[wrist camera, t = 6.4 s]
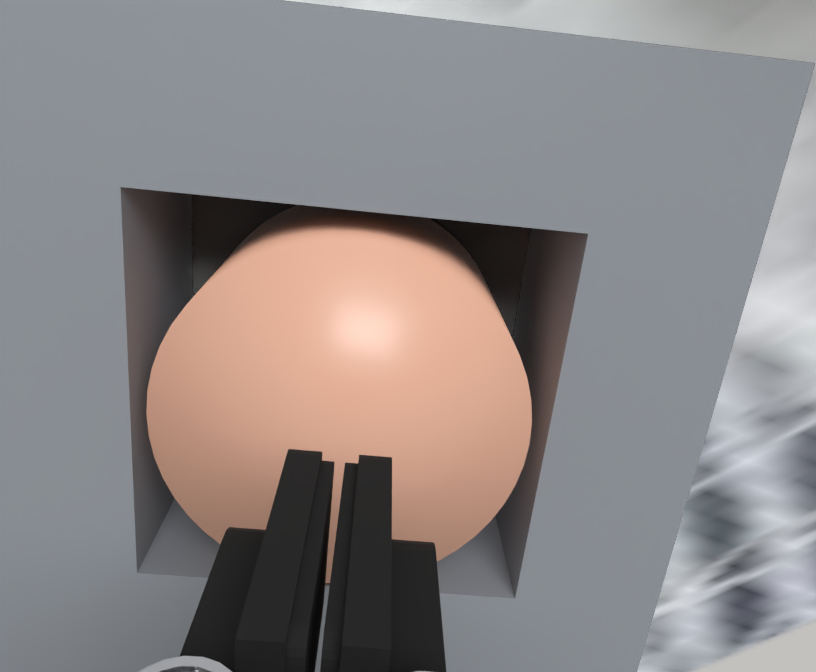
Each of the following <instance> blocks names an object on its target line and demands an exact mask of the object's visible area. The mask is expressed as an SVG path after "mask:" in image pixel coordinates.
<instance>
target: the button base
mask: <svg viewBox="0 0 816 672" xmlns="http://www.w3.org/2000/svg"><path fill="white" fill-rule="evenodd" d="M814 66H815V63H811V62H803V61H794V60H786V59H777V58H769V57H760V56H752V55H743V54H735V53H726V52H718V51H709V50H701V49H692V48H684V47H675V46H667V45H658V44H650V43H641V42H633V41H624V40H616V39H607V38H599V37H590V36H582V35H573V34H565V33H556V32H548V31H539V30H531V29H522V28H514V27H505V26H497V25H488V24H480V23H471V22H463V21H454V20H446V19H437V18H429V17H420V16H412V15H403V14H395V13H386V12H378V11H369V10H361V9H352V8H344V7H335V6H327V5H318V4H310V3H301V2H293V1H284V0H0V672H140V671H141V670H142V669H144V668H145V667H148V666H150V665H152V664H155V663H157V662H159V661H162V660H164V659H169V658H175V657H179V656H180V654H181V651H182V648H183V645H184V643H185V640H186V637H187V634H188V632H189V629H190V626H191V623H192V621H193V618H194V615H195V613H196V610H197V607H198V604H199V602H200V599H201V596H202V593H203V591H204V588H205V585H206V583H207V580H208V577H209V574H210V572H211V569H212V566H213V563H214V561H215V558H216V555H217V553H218V550H219V547H220V544H219V543H218V542H216V541H215V540H214V539H213V538H211V537H210V536H209V535H208V534H206V533H205V532H204V531H203V530H202V529H201V528H200V527H199V526H198V525H197V524H196V523H195V522H194V521H193V520H192V519H191V518H190V517H189V516H188V515H187V514H186V512H185V511H184V510H183V508H182V507H181V506H180V505H179V503H178V502H177V501H176V499H175V498H174V496H173V495H172V493H171V491H170V490H169V488H168V486H167V484H166V483H165V481H164V479H163V477H162V475H161V472H160V470H159V468H158V465H157V463H156V460H155V458H154V454H153V450H152V447H151V443H150V439H149V433H148V424H147V415H146V410H147V390H148V385H149V379H150V374H151V369H152V366H153V363H154V360H155V358H156V355H157V352H158V349H159V346H160V344H161V343H162V341H163V339H164V337H165V335H166V333H167V332H168V330H169V328H170V326H171V324H172V323H173V322H174V320H175V319H176V318H177V316H178V315H179V314H180V312H181V311H182V310H183V308H184V307H185V306H186V305H187V303H188V302H189V301H190V300H191V299H192V298H193V280H192V194H195V195H205V196H215V197H225V198H235V199H245V200H255V201H265V202H275V203H285V204H295V205H305V206H315V207H325V208H335V209H345V210H355V211H366V212H376V213H386V214H396V215H406V216H416V217H426V218H436V219H446V220H456V221H466V222H476V223H486V224H496V225H506V226H516V227H526V228H531V232H530V238H529V244H528V250H527V256H526V262H525V268H524V273H523V279H522V285H521V291H520V297H519V303H518V309H517V315H516V320H515V326H514V332H513V338H512V339H513V342H514V344H515V346H516V348H517V350H518V353H519V355H520V357H521V360H522V363H523V366H524V369H525V372H526V375H527V379H528V384H529V390H530V395H531V405H532V427H531V436H530V444H529V448H528V452H527V456H526V459H525V463H524V466H523V469H522V471H521V473H520V476H519V478H518V481H517V483H516V485H515V487H514V489H513V490H512V492H511V494H510V495H509V497H508V499H507V500H506V502H505V504H504V505H503V506H502V508H501V509H500V510H499V511H498V513H497V514H496V515H495V516H494V518H493V519H492V520H491V521H490V522H489V523H488V524H487V525H486V526H485V527H484V528H483V529H482V530H481V531H480V532H479V533H478V534H477V535H476V536H475V537H474V538H472V539H471V540H470V541H468V542H467V543H466V544H464V545H463V546H462V547H460V548H459V549H458V550H456V551H455V552H453V553H451V554H449V555H448V556H446V557H444V558H443V559H441V560H439V561H437V570H438V581H439V593H440V604H441V615H442V627H443V638H444V650H445V661H446V672H637V670H638V666H639V663H640V659H641V656H642V653H643V649H644V646H645V642H646V639H647V636H648V632H649V629H650V625H651V622H652V618H653V615H654V612H655V608H656V605H657V601H658V598H659V595H660V591H661V588H662V584H663V581H664V578H665V574H666V571H667V567H668V564H669V560H670V557H671V554H672V550H673V547H674V543H675V540H676V537H677V533H678V530H679V526H680V523H681V520H682V516H683V513H684V509H685V506H686V503H687V499H688V496H689V492H690V489H691V485H692V482H693V479H694V475H695V472H696V468H697V465H698V462H699V458H700V455H701V451H702V448H703V445H704V441H705V438H706V434H707V431H708V427H709V424H710V421H711V417H712V414H713V410H714V407H715V404H716V400H717V397H718V393H719V390H720V387H721V383H722V380H723V376H724V373H725V370H726V366H727V363H728V359H729V356H730V352H731V349H732V346H733V342H734V339H735V335H736V332H737V329H738V325H739V322H740V318H741V315H742V312H743V308H744V305H745V301H746V298H747V294H748V291H749V288H750V284H751V281H752V277H753V274H754V271H755V267H756V264H757V260H758V257H759V254H760V250H761V247H762V243H763V240H764V237H765V233H766V230H767V226H768V223H769V219H770V216H771V213H772V209H773V206H774V202H775V199H776V196H777V192H778V189H779V185H780V182H781V179H782V175H783V172H784V168H785V165H786V161H787V158H788V155H789V151H790V148H791V144H792V141H793V138H794V134H795V131H796V127H797V124H798V121H799V117H800V114H801V110H802V107H803V103H804V100H805V97H806V93H807V90H808V86H809V83H810V80H811V76H812V73H813V69H814ZM329 587H330V583H325V594H324V604H323V614H322V622H321V629H320V637H319V644H318V652H317V660H316V667H315V672H320V667H321V655H322V645H323V636H324V627H325V619H326V611H327V603H328V595H329Z"/></svg>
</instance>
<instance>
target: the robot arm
mask: <svg viewBox="0 0 816 672" xmlns="http://www.w3.org/2000/svg"><path fill="white" fill-rule="evenodd" d="M333 477H334V462H333V461H322V452H321V451H309V450H296V449H288V452H287V455H286V459H285V462H284V466H283V469H282V473H281V477H280V480H279V484H278V487H277V491H276V494H275V498H274V502H273V505H272V509H271V512H270V516H269V519H268V523H267V527H266V530H261V529H248V528H235V527H229V528H228V529H227V530H226V532H225V534H224V536H223V539H222V542H221V544H220V547H219V550H218V553H217V555H216V558H215V561H214V563H213V566H212V569H211V572H210V574H209V577H208V580H207V583H206V585H205V588H204V591H203V593H202V596H201V599H200V602H199V604H198V607H197V610H196V613H195V615H194V618H193V621H192V623H191V626H190V629H189V632H188V634H187V637H186V640H185V643H184V645H183V648H182V651H181V654H180V656H179V657H175V658H169V659H164V660H162V661H159V662H157V663H155V664H152V665H150V666H148V667H145V668H144V669H142V670H141V671H140V672H315V667H316V660H317V652H318V644H319V637H320V629H321V622H322V614H323V604H324V594H325V581H326V568H327V555H328V542H329V529H330V516H331V503H332V490H333ZM320 672H446V661H445V650H444V638H443V627H442V615H441V604H440V593H439V581H438V570H437V558H436V549H435V544H434V542H422V541H408V540H395V539H392V457H382V456H370V455H359V461H358V463H346V462H345V467H344V475H343V483H342V491H341V499H340V507H339V515H338V523H337V531H336V539H335V547H334V555H333V563H332V571H331V579H330V587H329V595H328V603H327V611H326V619H325V627H324V636H323V645H322V655H321V667H320Z"/></svg>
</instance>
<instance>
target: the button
mask: <svg viewBox="0 0 816 672" xmlns="http://www.w3.org/2000/svg"><path fill="white" fill-rule="evenodd" d="M146 415H147V424H148V433H149V439H150V443H151V447H152V450H153V454H154V458H155V460H156V463H157V465H158V468H159V470H160V472H161V475H162V477H163V479H164V481H165V483H166V484H167V486H168V488H169V490H170V491H171V493H172V495H173V496H174V498H175V499H176V501H177V502H178V503H179V505H180V506H181V507H182V508H183V510H184V511H185V512H186V514H187V515H188V516H189V517H190V518H191V519H192V520H193V521H194V522H195V523H196V524H197V525H198V526H199V527H200V528H201V529H202V530H203V531H204V532H205V533H206V534H208V535H209V536H210V537H211V538H213V539H214V540H215V541H216V542H218V543H219V544H221V542H222V539H223V536H224V534H225V532H226V530H227V529H228V528H229V527H235V528H248V529H261V530H266V527H267V523H268V519H269V516H270V512H271V509H272V505H273V502H274V498H275V494H276V491H277V487H278V484H279V480H280V477H281V473H282V469H283V466H284V462H285V459H286V455H287V452H288V449H296V450H309V451H321V452H322V461H333V462H334V477H333V490H332V503H331V516H330V529H329V542H328V555H327V568H326V581H325V583H330V579H331V571H332V563H333V555H334V547H335V539H336V531H337V523H338V515H339V507H340V499H341V491H342V483H343V475H344V467H345V462H346V463H358V461H359V455H370V456H382V457H392V539H395V540H408V541H422V542H434V544H435V549H436V558H437V561H439V560H441V559H443V558H444V557H446V556H448V555H449V554H451V553H453V552H455V551H456V550H458V549H459V548H460V547H462V546H463V545H464V544H466V543H467V542H468V541H470V540H471V539H472V538H474V537H475V536H476V535H477V534H478V533H479V532H480V531H481V530H482V529H483V528H484V527H485V526H486V525H487V524H488V523H489V522H490V521H491V520H492V519H493V518H494V516H495V515H496V514H497V513H498V511H499V510H500V509H501V508H502V506H503V505H504V504H505V502H506V500H507V499H508V497H509V495H510V494H511V492H512V490H513V489H514V487H515V485H516V483H517V481H518V478H519V476H520V473H521V471H522V469H523V466H524V463H525V459H526V456H527V452H528V448H529V444H530V436H531V427H532V405H531V395H530V390H529V384H528V379H527V375H526V372H525V369H524V366H523V363H522V360H521V357H520V355H519V353H518V350H517V348H516V346H515V344H514V342H513V339H512V337H511V335H510V333H509V331H508V329H507V326H506V324H505V322H504V320H503V318H502V315H501V313H500V311H499V309H498V307H497V305H496V302H495V300H494V298H493V296H492V294H491V291H490V289H489V287H488V285H487V283H486V281H485V279H484V277H483V275H482V273H481V271H480V269H479V267H478V266H477V264H476V263H475V261H474V260H473V259H472V257H471V256H470V254H469V253H468V251H467V250H466V249H465V248H464V247H463V246H462V245H461V244H460V243H459V242H458V241H457V239H456V238H455V237H453V236H452V235H451V234H450V233H449V232H447V231H446V230H445V229H444V228H443V227H441V226H440V225H439V224H437V223H435V222H434V221H432V220H431V219H429V218H426V217H416V216H406V215H396V214H386V213H376V212H366V211H355V210H345V209H335V208H325V207H315V206H305V205H297V206H295V207H292V208H289V209H287V210H285V211H283V212H281V213H279V214H277V215H275V216H274V217H272V218H270V219H268V220H267V221H265V222H264V223H263V224H261V225H260V226H259V227H257V228H256V229H255V230H253V231H252V232H251V233H250V234H249V235H248V236H247V237H246V238H245V239H244V240H243V241H242V242H241V243H240V244H239V245H238V246H237V247H236V248H235V250H234V251H233V252H232V253H231V254H230V255H229V256H228V258H227V259H226V260H225V261H224V262H223V263H222V264H221V266H220V267H219V268H218V269H217V270H216V271H215V272H214V274H213V275H212V276H211V277H210V278H209V279H208V280H207V282H206V283H205V284H204V285H203V286H202V287H201V289H200V290H199V291H198V292H197V293H196V294H195V295H194V297H193V298H192V299H191V300H190V301H189V302H188V303H187V305H186V306H185V307H184V308H183V310H182V311H181V312H180V314H179V315H178V316H177V318H176V319H175V320H174V322H173V323H172V324H171V326H170V328H169V330H168V332H167V333H166V335H165V337H164V339H163V341H162V343H161V344H160V346H159V349H158V352H157V355H156V358H155V360H154V363H153V366H152V369H151V374H150V379H149V385H148V390H147V410H146Z"/></svg>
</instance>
